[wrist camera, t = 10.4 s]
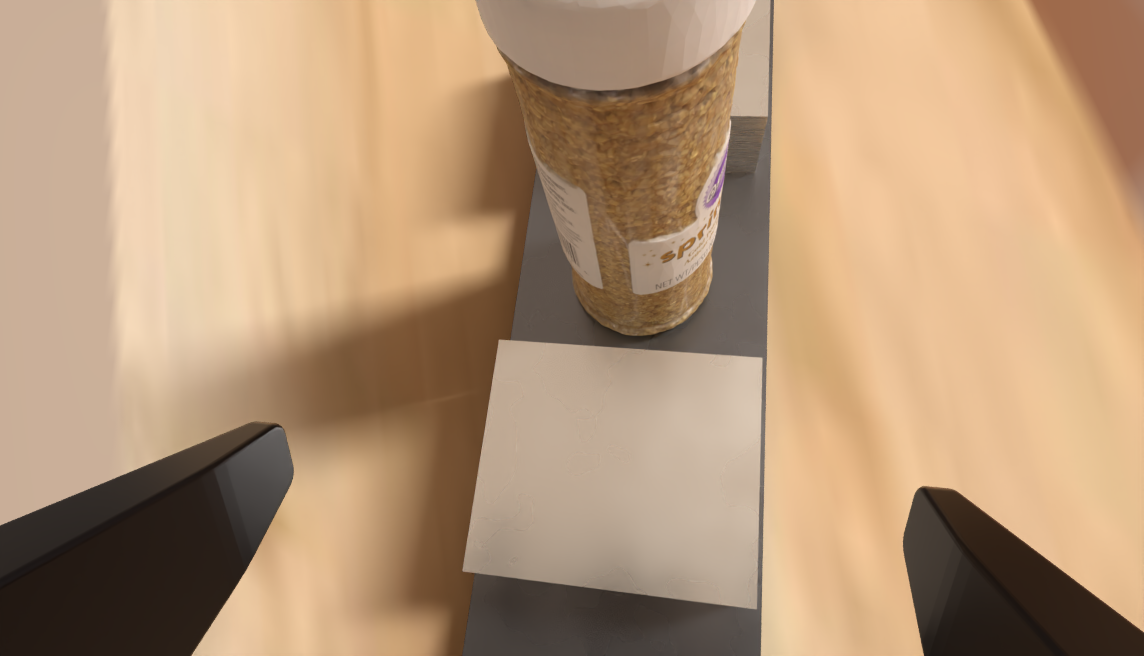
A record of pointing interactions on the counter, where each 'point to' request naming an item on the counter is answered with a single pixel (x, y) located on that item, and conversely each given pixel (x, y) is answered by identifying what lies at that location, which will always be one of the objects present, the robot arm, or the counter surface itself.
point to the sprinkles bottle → (628, 141)
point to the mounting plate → (699, 333)
